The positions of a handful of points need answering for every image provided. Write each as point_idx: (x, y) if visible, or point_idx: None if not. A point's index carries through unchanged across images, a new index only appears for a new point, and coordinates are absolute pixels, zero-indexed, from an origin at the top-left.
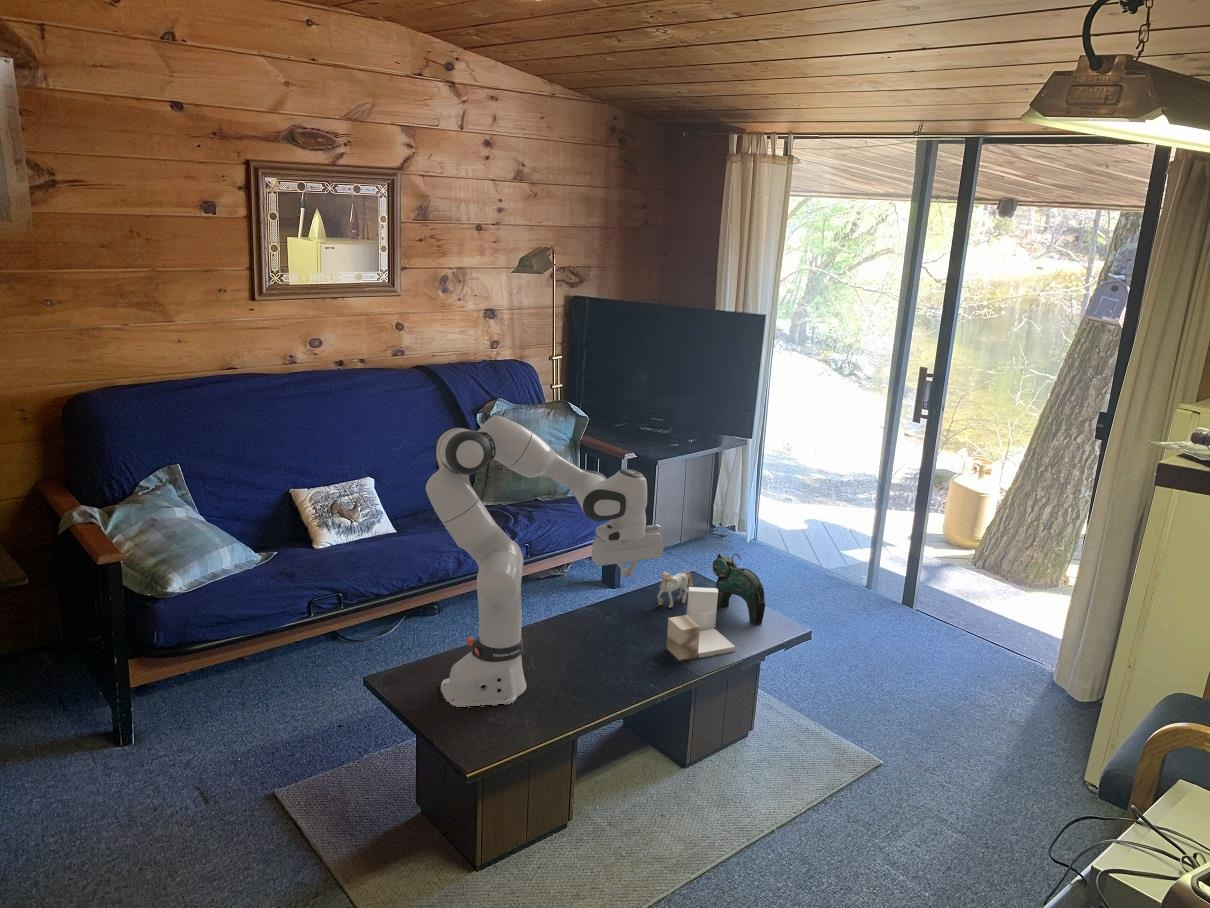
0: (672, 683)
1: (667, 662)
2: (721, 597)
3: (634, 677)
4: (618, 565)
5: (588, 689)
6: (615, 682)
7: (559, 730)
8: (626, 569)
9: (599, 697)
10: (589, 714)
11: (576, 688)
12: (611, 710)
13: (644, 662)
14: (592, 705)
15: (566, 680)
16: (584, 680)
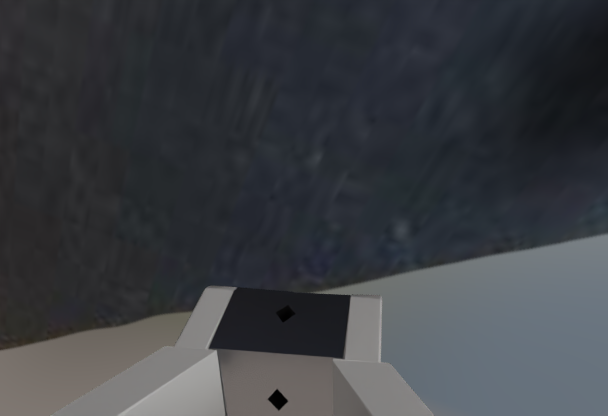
0: (481, 246)
1: (569, 98)
2: None
3: (365, 160)
4: (82, 401)
5: (170, 176)
6: (280, 167)
7: (46, 329)
8: (271, 391)
9: (193, 232)
10: (139, 298)
11: (131, 155)
12: None
13: (470, 63)
14: (159, 262)
15: (105, 91)
16: (171, 114)
